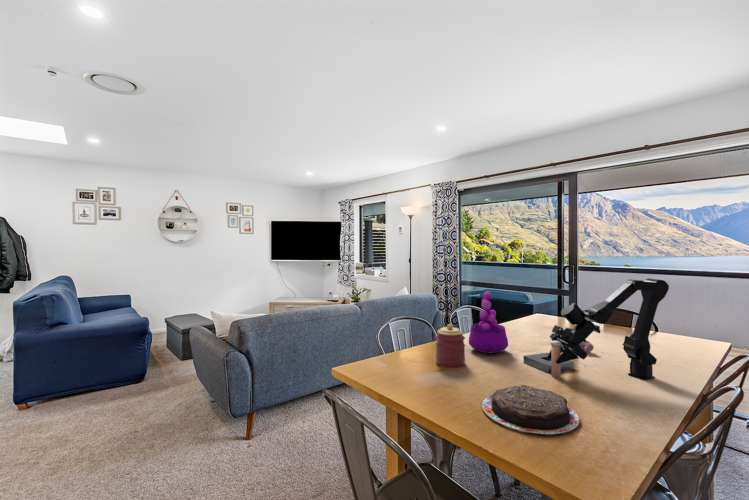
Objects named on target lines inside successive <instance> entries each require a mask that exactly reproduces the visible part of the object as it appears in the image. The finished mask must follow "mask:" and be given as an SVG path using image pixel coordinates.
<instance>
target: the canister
mask: <svg viewBox="0 0 749 500" xmlns="http://www.w3.org/2000/svg"><path fill="white" fill-rule="evenodd" d="M436 332H437V334H436V335H435V336H434V337H435V339H436V342H435V363H436V364H437V365H438V366H441V367H446V368H459V367H462V366H464V365H465V362H466V358H465V357H466V356H465V353H466V352H465V346H466V345H465V342H464V341H465V339H466V338H465V336H464V335H463V331H462V330H461V329H460V328H457V327H454V326H453V324H451V323H449V324H447V325H446V326H445V327H441V328H439V329H438V330H437V331H436Z"/></svg>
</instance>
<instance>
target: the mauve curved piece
mask: <svg viewBox="0 0 749 500" xmlns="http://www.w3.org/2000/svg"><path fill="white" fill-rule="evenodd" d="M586 341H587V342H586V343H584V342H582V343H581V344H580V345H579V346H581V347H582V348H583V349H584V350H585V351H586V352H587V355H589V354H590V353H591V352H592V351H593V350H594V348H595V347H594V345H593V344H592V343H591V342H590V341H588V340H586Z"/></svg>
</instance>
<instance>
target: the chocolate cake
mask: <svg viewBox="0 0 749 500" xmlns="http://www.w3.org/2000/svg"><path fill="white" fill-rule="evenodd" d="M481 408H482V411H483V412H484V414H486V416H487V418H488V419H490V421H491V422H493V423H496V424H498V425H500V426H503V427H505V428H508V429H511V430H513V431H516V432H518V433H522V434H537V435H541V436H546V437H553V436H555V435H559V434H564V433H565V434H566V433H568V432H569V433H571V432H573V431H574V430H576V428H578V427H579V425H580V420H581V419H580V417H579V415H578V413H577V412H576V411H575V410H574V409H573V408H572V407H570V406H569V405H568V401H567V399H566V398H565V397H564V396H562V395H560V394H557V393H556V392H554V391H551V390H546V389H541V388H537V387H534V386H529V385H526V384H521V385H513V386H508V387H505V388H499V389H496V390H495V391H494V392H493V393H492V395H488V396H487V397H485V399H484V400H482V403H481Z"/></svg>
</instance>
